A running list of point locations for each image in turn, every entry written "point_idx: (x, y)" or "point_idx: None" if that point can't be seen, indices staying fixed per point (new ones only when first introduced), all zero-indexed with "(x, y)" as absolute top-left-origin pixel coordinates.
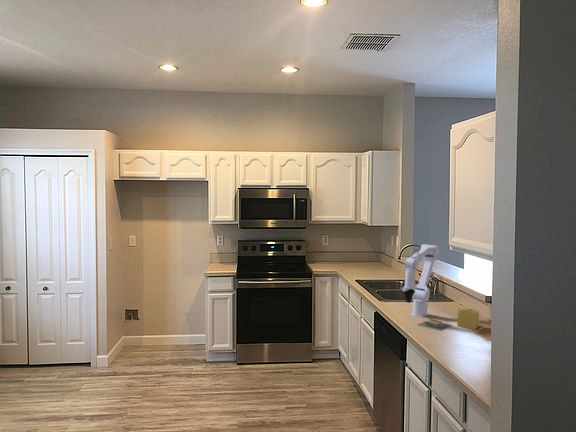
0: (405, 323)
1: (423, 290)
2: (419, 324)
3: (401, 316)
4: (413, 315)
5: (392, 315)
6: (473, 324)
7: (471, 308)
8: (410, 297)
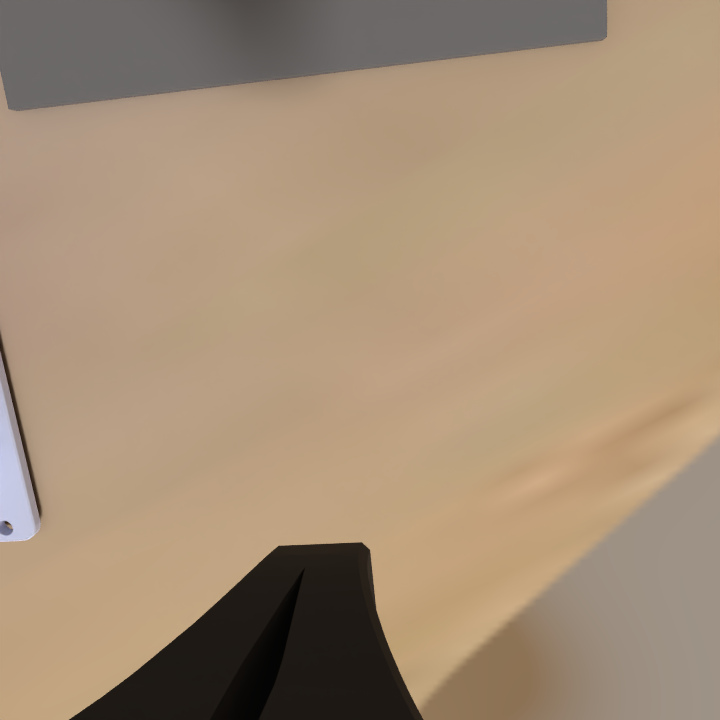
0: (639, 279)
1: None
2: (516, 19)
3: None
4: (22, 463)
5: None
6: None
7: None
8: (394, 673)
